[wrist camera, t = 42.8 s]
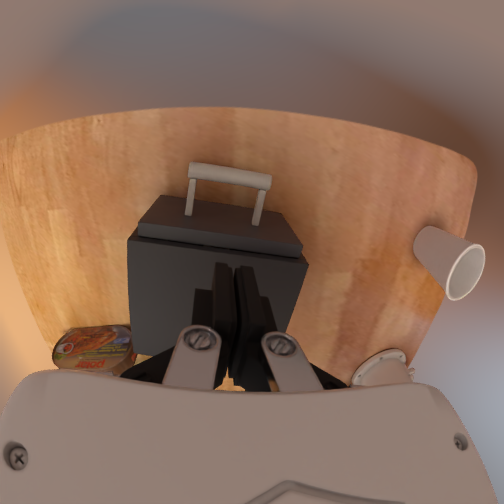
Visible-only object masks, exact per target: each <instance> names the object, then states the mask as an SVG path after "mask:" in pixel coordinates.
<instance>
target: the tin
mask: <svg viewBox="0 0 504 504" xmlns="http://www.w3.org/2000/svg"><path fill="white" fill-rule="evenodd" d="M136 358H137V353H134V352H133V344H132V334H131V331H130V330H129V329H128V328H126V327H124V326H121V325H111V326H102V327H92V328H79V329H75V330H72V331H70V332H68V333H66V334H65V335H64V336H63V337H62V338H60V340H59V341H58V342H57V343H56V345H55V347H54V349H53V353H52V360H53V362H54V364H55V365H56V366H57V367H58V368H59V369H77V370H94V371H113V372H114V374H122V373H123V372H124V371H126V370H127V369H129V368H131V367H132V366H133V365H134V363H135V360H136Z"/></svg>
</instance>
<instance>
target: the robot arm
mask: <svg viewBox="0 0 504 504" xmlns="http://www.w3.org/2000/svg"><path fill="white" fill-rule="evenodd" d="M405 362H406V356H405V354H404V353H403V351H402V350H399V349H389V350H385V351H383V352H380V353H378V354H376V355H374V356H373V357H371V358H370V359H368V360H367V361H366V362H364V363H363V364H362V365H361V366H360V367H359V368H358V369H357V370H356V372H355V373H354V375H353V377H352V381H351V382H352V384H350V386H349V387H348V386H347V385H346V384H345V383H343V382H342V381H341V380H339V379H337V378H335V377H334V376H332V375H330V374H328V373H327V372H325V371H323V370H322V369H320V368H318V367H317V366H315V365H313V364H312V363H310V362H309V361H308V359H307V357H306V356H305V354H304V352H303V350H302V348H301V347H300V345H299V343H298V342H297V340H296V339H295V338H293V337H292V336H290V335H288V334H286V333H283V332H278V329H277V326H276V322H275V319H274V315H273V312H272V308H271V304H270V301H269V298H268V297H267V296H260V294H259V290H258V286H257V281H256V277H255V273H254V269H253V267H250V266H243V265H240V268H235V271H234V276H233V271H232V267H228V264H227V263H220V262H215V267H214V273H213V279H212V286H211V290H205V289H198V288H195V295H194V303H193V312H192V322H191V326H188V327H186V328H184V329H183V330H182V331H181V333H180V335H179V337H178V340H177V343H176V345H175V346H173V347H171V348H169V349H167V350H165V351H163V352H161V353H159V354H157V355H155V356H153V357H151V358H149V359H147V360H145V361H143V362H141V363H139V364H137V365H135V366H133V367H131V368H129V369H127V370H126V371H124V372H123V373H122V374H114V372H113V371H94V370H77V369H54V370H43V371H38V372H35V373H32V374H30V375H28V376H27V377H25V378H24V379H23V380H22V381H21V382H20V383H19V385H18V386H17V387H16V389H15V390H14V392H13V393H12V395H11V397H10V398H9V400H8V402H7V404H6V406H5V408H4V410H3V412H2V414H1V417H0V504H498V502H497V498H496V495H495V492H494V489H493V487H492V484H491V481H490V479H489V476H488V474H487V471H486V469H485V467H484V464H483V462H482V460H481V458H480V456H479V453H478V451H477V449H476V447H475V445H474V444H473V441H472V440H471V437H470V436H469V434H468V432H467V430H466V428H465V426H464V425H463V423H462V421H461V419H460V418H459V416H458V415H457V413H456V411H455V410H454V408H453V407H452V405H451V404H450V402H449V401H448V400H447V398H446V397H445V396H444V395H443V394H442V393H441V392H440V391H439V390H438V389H437V388H435V387H432V386H429V385H426V384H420V383H414V382H413V375H412V374H414V373H415V369H414V368H411V369H407V367H406V365H405ZM227 368H228V375H229V378H233V381H234V386H241V387H242V388H244V389H245V391H224V390H214V389H215V388H217V387H218V386H220V385H221V384H222V382H223V378H224V377H225V376H226V372H227Z"/></svg>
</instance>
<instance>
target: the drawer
mask: <svg viewBox="0 0 504 504" xmlns="http://www.w3.org/2000/svg"><path fill="white" fill-rule="evenodd" d="M188 178H190V181H189V187H188V194H187V198H180V197H172V196H165V195H160V196H159V198H158V199H157V200H156V201H155V202H154V204H153V205H152V206H151V207H150V208H149V210H148V211H147V212H146V213H145V214H144V216H143V217H142V218H141V219H140V221H139V222H138V236H142V237H149V238H153V239H156V240H163V241H170V242H177V243H184V244H192V245H199V246H204V245H207V246H214V247H221V248H229V249H230V250H235V251H242V252H249V253H257V254H264V255H271V256H278V257H281V256H286V257H293V258H300V255H301V252H302V248H303V245H302V243H301V242H300V240H299V239H298V237H297V236H296V234H295V233H294V231H293V230H292V228H291V227H290V226H289V224H288V223H287V221H286V220H285V218H284V217H283V215H282V214H281V213H276V212H271V211H265V210H262V208H263V204H264V199H265V195H266V190H269V189H270V187H271V183H272V175H269V174H264V173H259V172H254V171H248V170H243V169H237V168H231V167H225V166H219V165H212V164H205V163H198V162H190V164H189V169H188ZM197 179H201V180H208V181H215V182H221V183H228V184H234V185H240V186H246V187H251V188H257V189H259V190H258V195H257V200H256V204H255V209H253V208H247V207H241V206H235V205H228V204H222V203H215V202H208V201H202V200H195V199H194V196H195V190H196V183H197Z"/></svg>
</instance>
